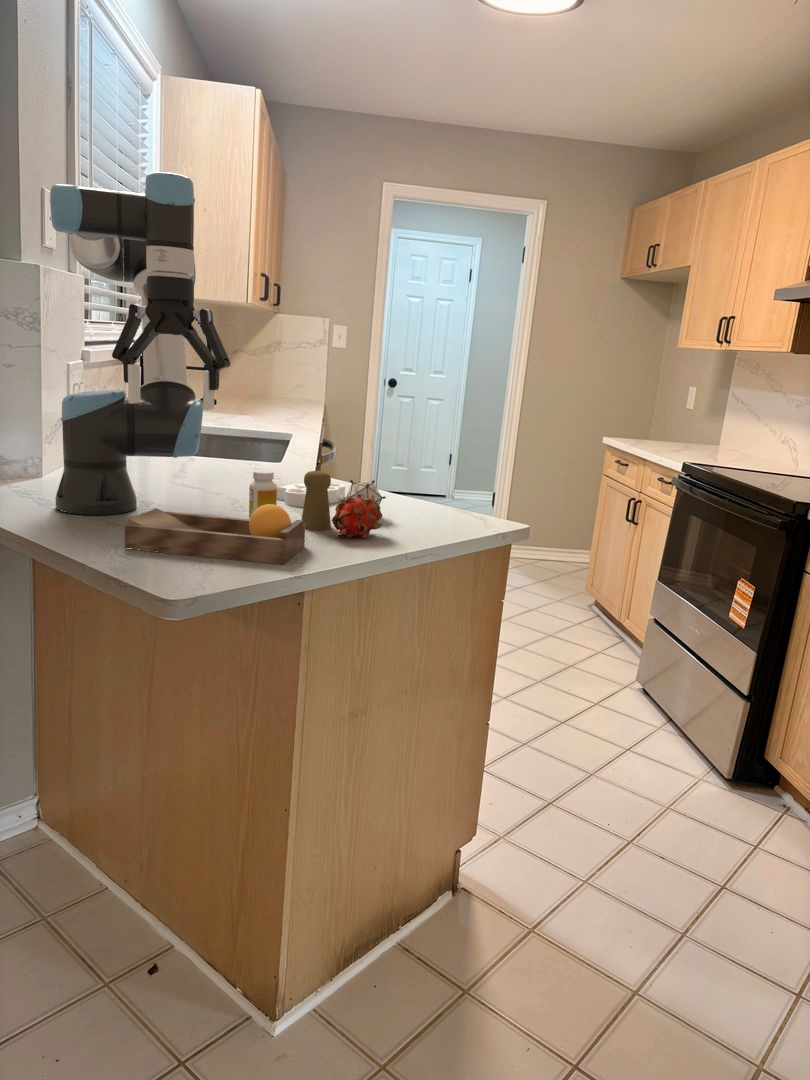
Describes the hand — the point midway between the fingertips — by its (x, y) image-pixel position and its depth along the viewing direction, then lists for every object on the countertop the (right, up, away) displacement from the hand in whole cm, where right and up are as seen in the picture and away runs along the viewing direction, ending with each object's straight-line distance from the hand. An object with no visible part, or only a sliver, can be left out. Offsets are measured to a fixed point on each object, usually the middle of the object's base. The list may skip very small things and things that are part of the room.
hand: (171, 406), depth 133 cm
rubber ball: (+17, -20, -3) cm, 27 cm away
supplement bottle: (+12, -19, +22) cm, 31 cm away
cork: (+23, -21, +19) cm, 36 cm away
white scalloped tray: (+18, -14, +46) cm, 51 cm away
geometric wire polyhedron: (+31, -19, +29) cm, 47 cm away
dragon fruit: (+31, -23, +13) cm, 40 cm away
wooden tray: (+8, -24, -1) cm, 26 cm away
